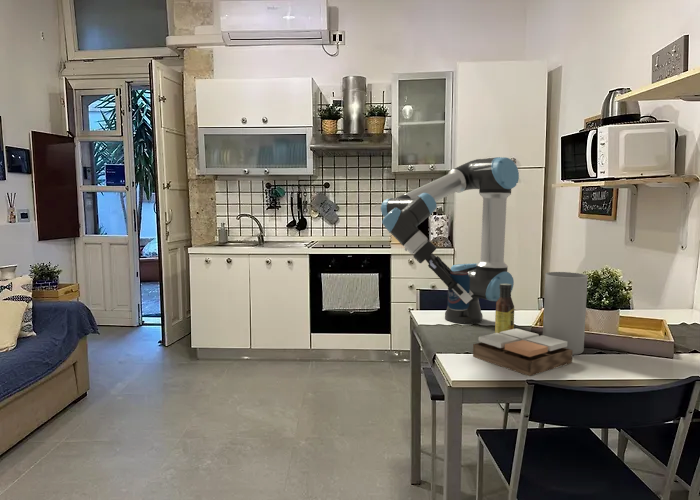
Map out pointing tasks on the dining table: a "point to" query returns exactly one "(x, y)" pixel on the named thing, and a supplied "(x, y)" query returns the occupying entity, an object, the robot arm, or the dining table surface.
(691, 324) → the dining table surface
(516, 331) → the key
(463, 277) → the soda can
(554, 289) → the cylinder vase
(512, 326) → the sauce bottle
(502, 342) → the key
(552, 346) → the key
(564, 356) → the keypad
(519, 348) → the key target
